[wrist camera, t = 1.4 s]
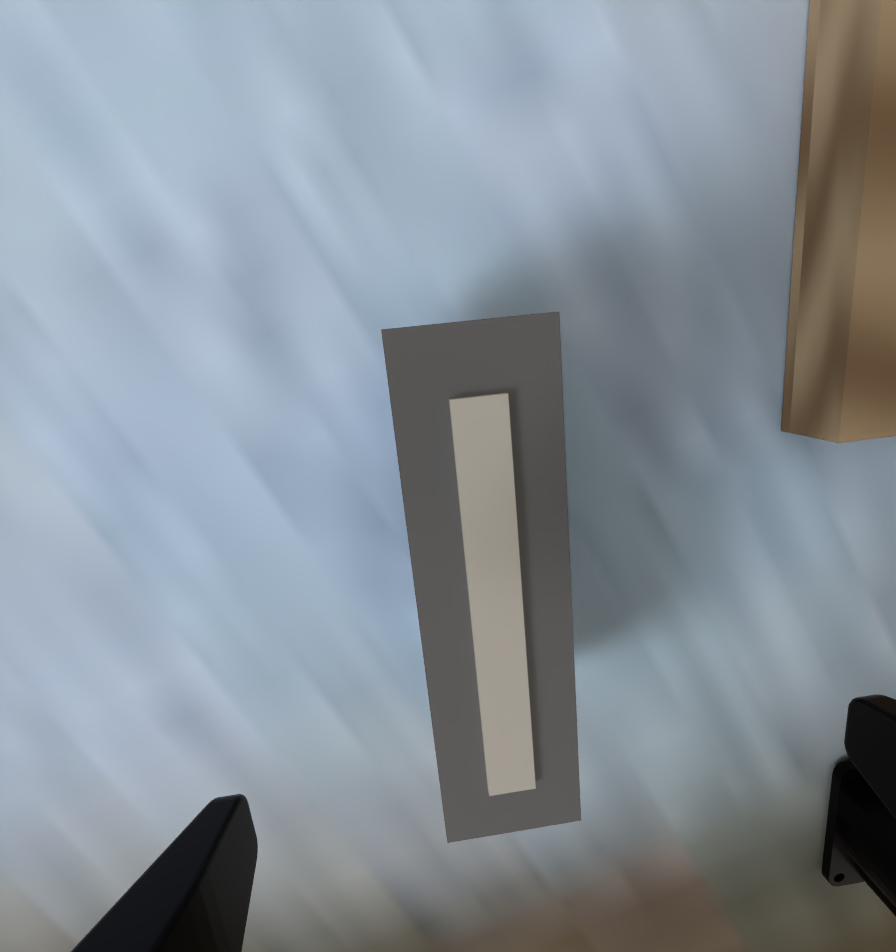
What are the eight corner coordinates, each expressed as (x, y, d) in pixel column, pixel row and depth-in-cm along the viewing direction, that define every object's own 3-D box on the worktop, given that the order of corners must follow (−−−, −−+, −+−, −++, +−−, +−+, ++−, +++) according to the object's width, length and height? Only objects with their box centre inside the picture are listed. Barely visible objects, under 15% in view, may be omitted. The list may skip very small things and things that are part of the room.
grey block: (526, 678, 19) (583, 827, 13) (433, 692, 19) (448, 850, 13) (501, 326, 16) (562, 311, 10) (388, 338, 16) (380, 328, 10)
